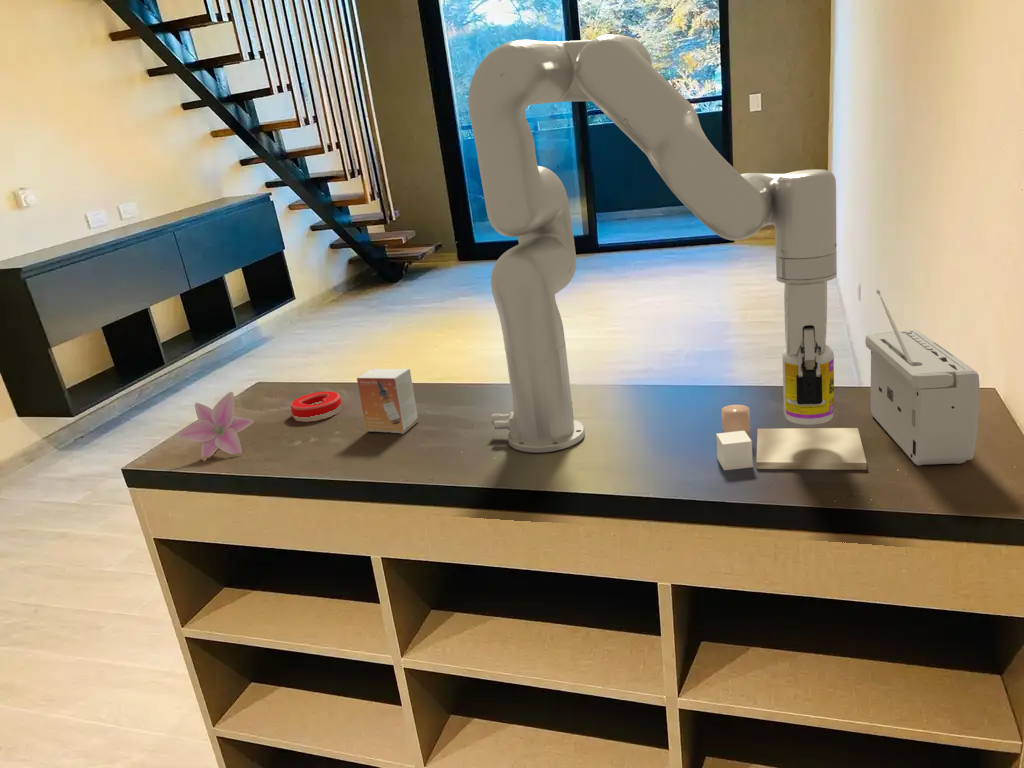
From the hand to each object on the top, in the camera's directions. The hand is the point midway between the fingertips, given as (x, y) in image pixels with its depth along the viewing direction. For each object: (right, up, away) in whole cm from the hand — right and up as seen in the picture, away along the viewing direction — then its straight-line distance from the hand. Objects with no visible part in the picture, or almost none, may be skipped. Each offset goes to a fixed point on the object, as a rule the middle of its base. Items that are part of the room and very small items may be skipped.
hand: (808, 392), depth 113 cm
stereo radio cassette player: (+16, -7, +3) cm, 18 cm away
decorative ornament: (-79, -5, +47) cm, 92 cm away
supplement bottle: (0, -4, +1) cm, 4 cm away
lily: (-93, -11, +33) cm, 99 cm away
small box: (-63, -7, +34) cm, 71 cm away
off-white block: (-10, -10, +2) cm, 14 cm away
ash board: (+1, -8, +3) cm, 9 cm away
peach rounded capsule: (-7, -7, +9) cm, 14 cm away
